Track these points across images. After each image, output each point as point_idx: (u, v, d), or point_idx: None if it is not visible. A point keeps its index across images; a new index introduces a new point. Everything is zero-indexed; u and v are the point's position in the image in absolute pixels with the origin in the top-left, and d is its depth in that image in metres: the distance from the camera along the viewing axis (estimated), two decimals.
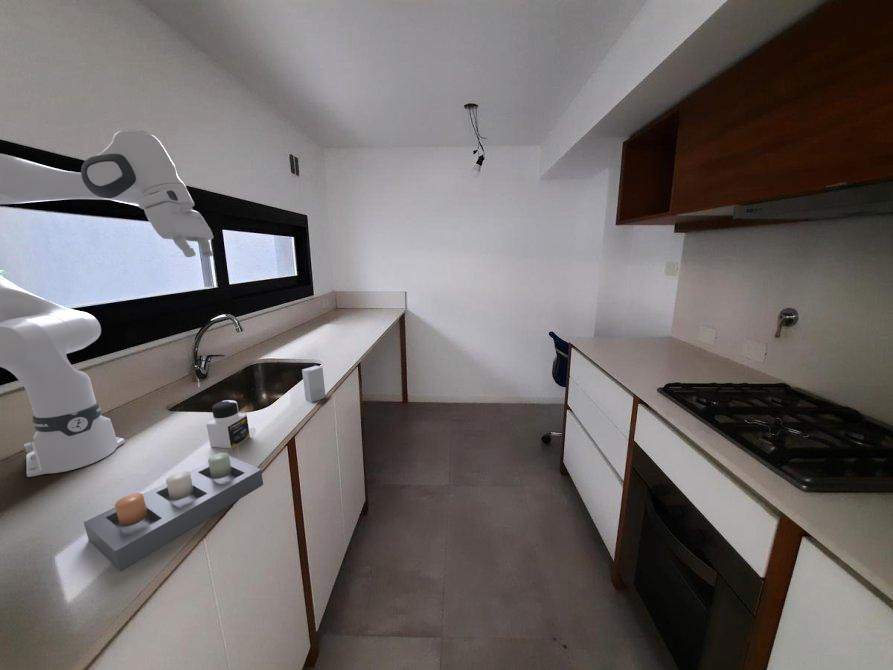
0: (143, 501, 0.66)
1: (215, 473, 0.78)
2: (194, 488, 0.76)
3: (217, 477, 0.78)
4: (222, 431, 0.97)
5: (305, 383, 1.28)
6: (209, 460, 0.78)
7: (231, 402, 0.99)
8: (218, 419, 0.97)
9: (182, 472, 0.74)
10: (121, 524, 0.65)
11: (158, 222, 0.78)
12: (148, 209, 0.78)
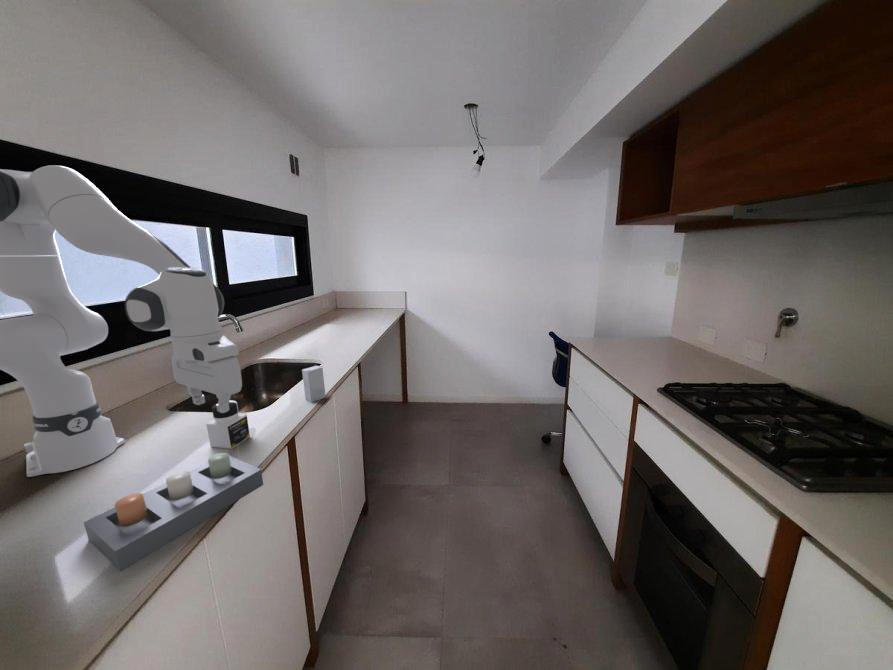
0: (143, 501, 0.66)
1: (215, 473, 0.78)
2: (194, 488, 0.76)
3: (217, 477, 0.78)
4: (222, 431, 0.97)
5: (305, 383, 1.28)
6: (209, 460, 0.78)
7: (231, 402, 0.99)
8: (218, 419, 0.97)
9: (182, 472, 0.74)
10: (121, 524, 0.65)
11: (229, 379, 0.70)
12: (218, 364, 0.69)
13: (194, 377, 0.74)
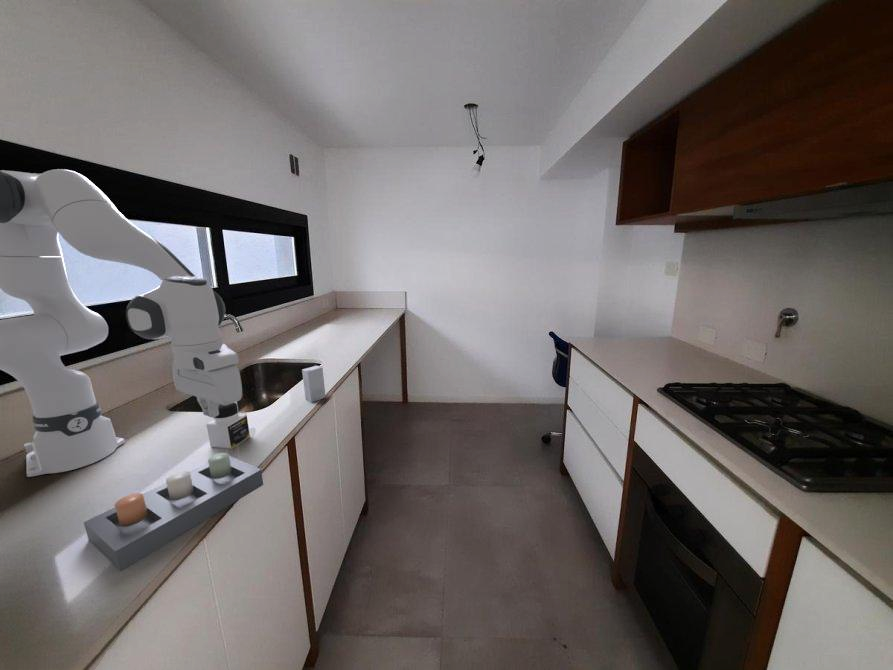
0: (143, 501, 0.66)
1: (215, 473, 0.78)
2: (194, 488, 0.76)
3: (217, 477, 0.78)
4: (222, 431, 0.97)
5: (305, 383, 1.28)
6: (209, 460, 0.78)
7: None
8: (218, 419, 0.97)
9: (182, 472, 0.74)
10: (121, 524, 0.65)
11: (229, 388, 0.70)
12: (218, 373, 0.69)
13: (194, 385, 0.74)
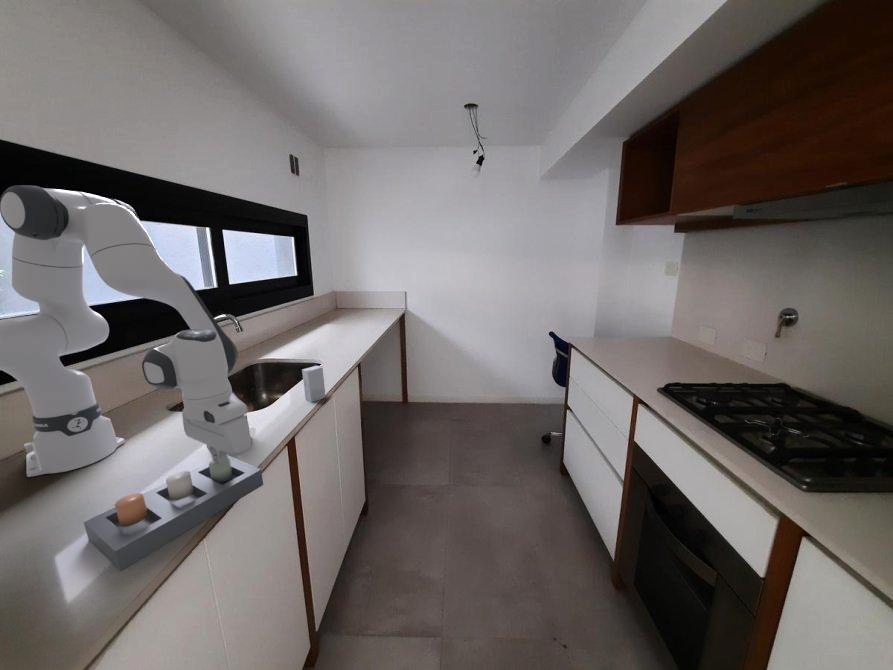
0: (143, 501, 0.66)
1: (216, 478, 0.78)
2: (194, 488, 0.76)
3: (218, 481, 0.78)
4: None
5: (305, 383, 1.28)
6: (210, 464, 0.78)
7: None
8: None
9: (182, 472, 0.74)
10: (121, 524, 0.65)
11: (239, 439, 0.73)
12: (228, 426, 0.71)
13: (204, 434, 0.77)
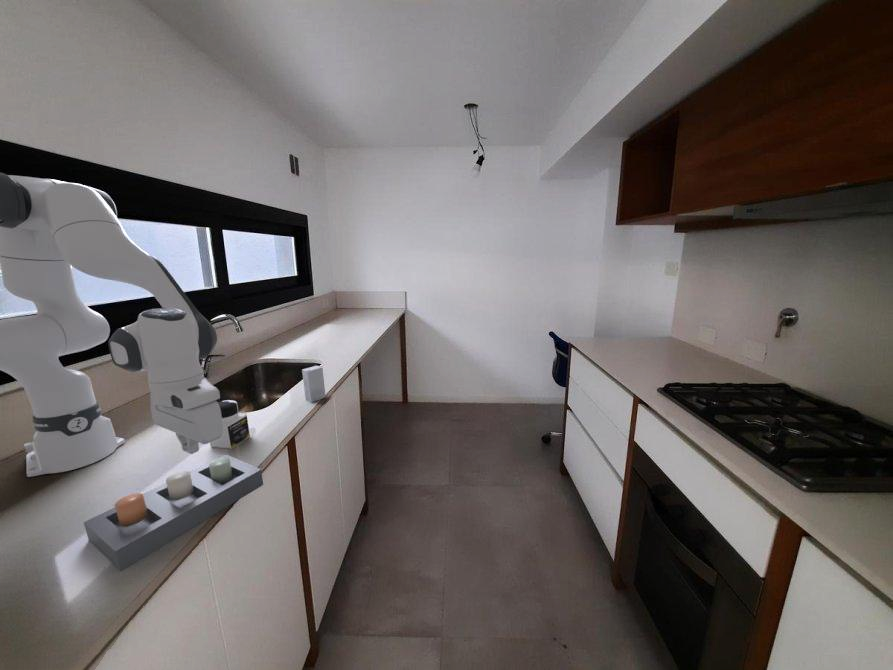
0: (143, 501, 0.66)
1: (216, 479, 0.78)
2: (194, 488, 0.76)
3: None
4: None
5: (305, 383, 1.28)
6: (210, 466, 0.78)
7: (231, 402, 0.99)
8: None
9: (182, 472, 0.74)
10: (121, 524, 0.65)
11: (209, 426, 0.68)
12: (198, 411, 0.66)
13: (172, 421, 0.71)
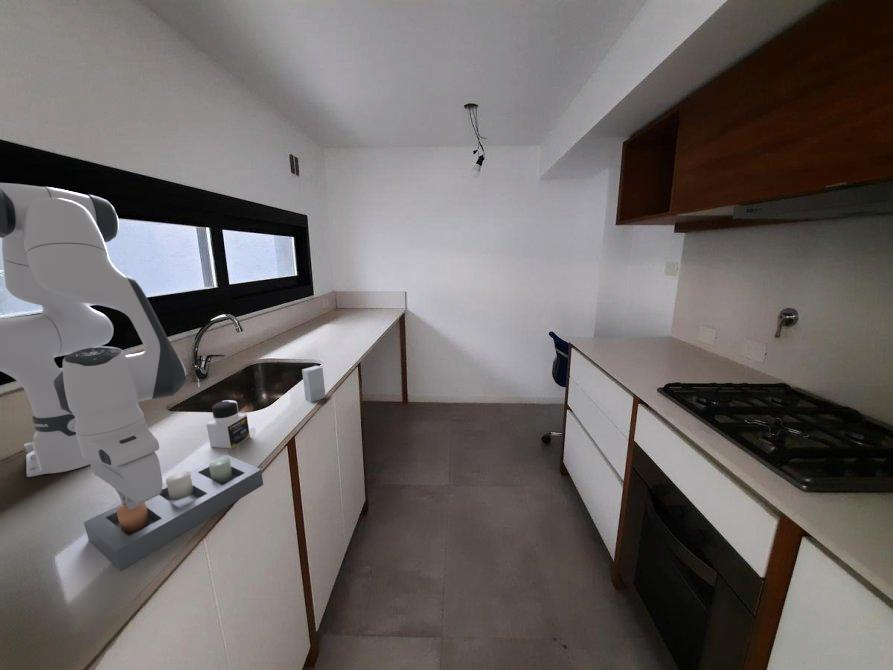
0: (144, 507, 0.67)
1: (216, 479, 0.78)
2: (194, 488, 0.76)
3: None
4: (222, 431, 0.97)
5: (305, 383, 1.28)
6: (210, 466, 0.78)
7: (231, 402, 0.99)
8: (218, 419, 0.97)
9: (182, 472, 0.74)
10: (123, 530, 0.65)
11: (144, 483, 0.59)
12: (130, 468, 0.58)
13: (108, 474, 0.63)
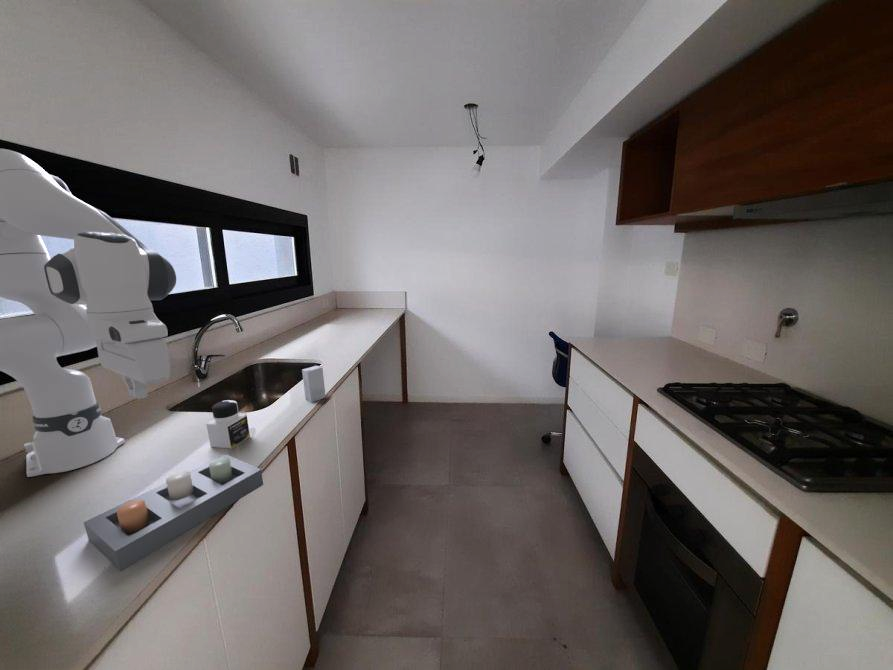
0: (145, 508, 0.67)
1: (216, 479, 0.78)
2: (194, 488, 0.76)
3: None
4: (222, 431, 0.97)
5: (305, 383, 1.28)
6: (210, 466, 0.78)
7: (231, 402, 0.99)
8: (218, 419, 0.97)
9: (182, 472, 0.74)
10: (123, 531, 0.65)
11: (153, 364, 0.60)
12: (139, 346, 0.59)
13: (117, 361, 0.64)
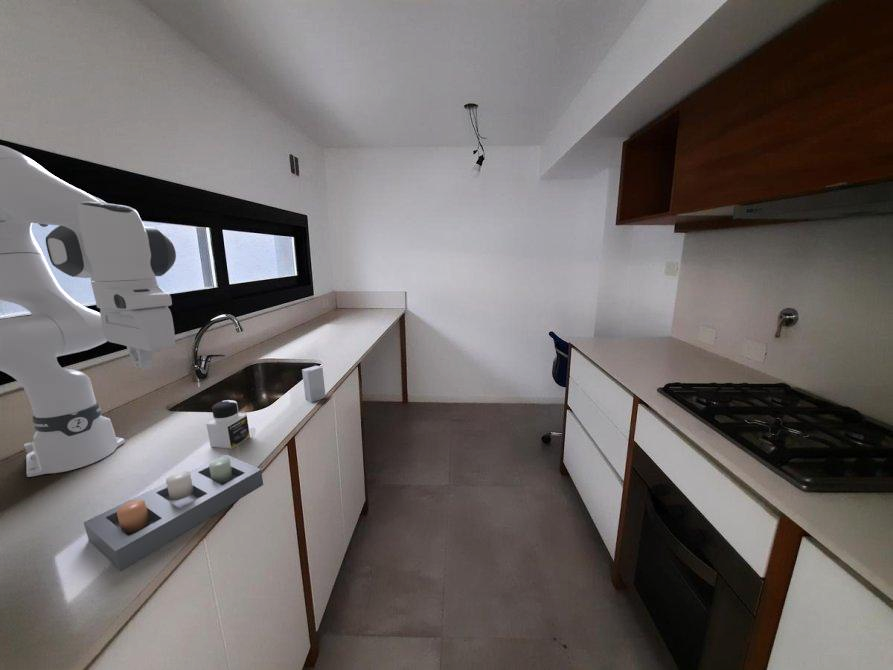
0: (145, 508, 0.67)
1: (216, 479, 0.78)
2: (194, 488, 0.76)
3: None
4: (222, 431, 0.97)
5: (305, 383, 1.28)
6: (210, 466, 0.78)
7: (231, 402, 0.99)
8: (218, 419, 0.97)
9: (182, 472, 0.74)
10: (123, 531, 0.65)
11: (158, 331, 0.61)
12: (144, 313, 0.59)
13: (121, 332, 0.65)
